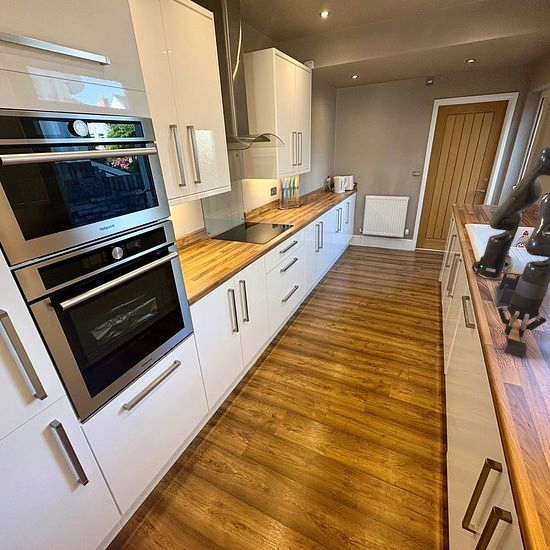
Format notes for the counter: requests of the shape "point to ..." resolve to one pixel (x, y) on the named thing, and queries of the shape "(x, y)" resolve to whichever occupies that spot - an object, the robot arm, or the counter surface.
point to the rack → (506, 290)
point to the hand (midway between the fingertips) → (512, 335)
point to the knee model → (508, 263)
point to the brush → (515, 342)
